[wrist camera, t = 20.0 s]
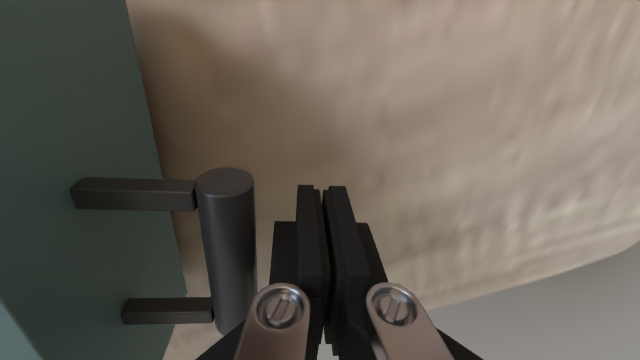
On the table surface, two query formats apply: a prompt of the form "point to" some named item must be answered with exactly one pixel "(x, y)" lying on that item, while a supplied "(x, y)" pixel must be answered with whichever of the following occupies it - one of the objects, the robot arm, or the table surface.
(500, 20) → the table surface
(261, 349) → the robot arm
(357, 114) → the table surface
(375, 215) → the table surface
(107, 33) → the drawer
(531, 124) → the table surface
